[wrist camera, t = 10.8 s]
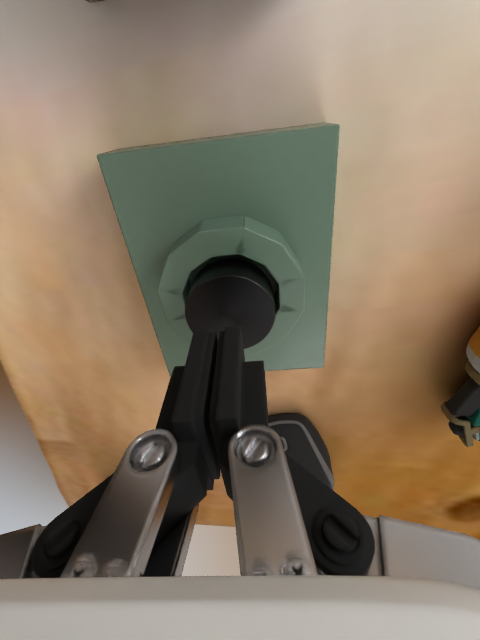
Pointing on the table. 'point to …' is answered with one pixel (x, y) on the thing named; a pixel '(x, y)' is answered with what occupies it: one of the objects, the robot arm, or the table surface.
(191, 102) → the table surface
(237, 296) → the button
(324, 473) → the computer mouse
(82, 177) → the table surface
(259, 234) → the green push button panel
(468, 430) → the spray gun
